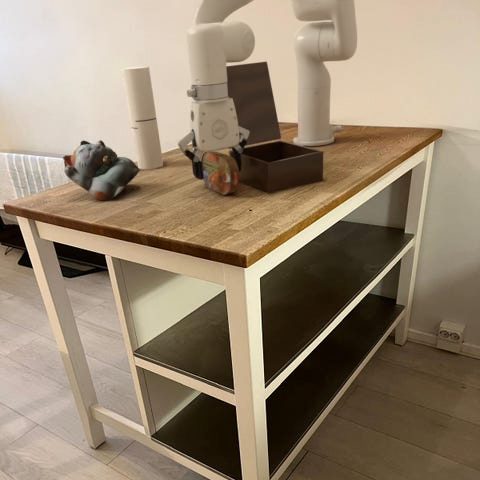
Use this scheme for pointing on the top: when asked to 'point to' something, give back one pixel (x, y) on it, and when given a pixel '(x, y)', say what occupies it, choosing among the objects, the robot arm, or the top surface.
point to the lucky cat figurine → (99, 170)
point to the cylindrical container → (142, 116)
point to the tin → (220, 172)
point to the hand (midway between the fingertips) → (218, 174)
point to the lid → (253, 101)
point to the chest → (280, 166)
